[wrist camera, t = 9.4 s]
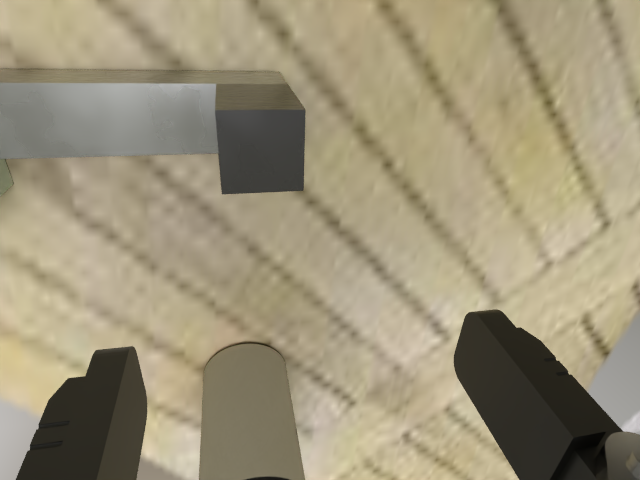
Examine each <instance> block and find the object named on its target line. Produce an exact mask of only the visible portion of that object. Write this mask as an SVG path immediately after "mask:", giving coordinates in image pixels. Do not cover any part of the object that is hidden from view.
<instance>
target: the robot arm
mask: <svg viewBox="0 0 640 480" xmlns="http://www.w3.org/2000/svg"><path fill="white" fill-rule="evenodd" d="M454 367H455V372H456V375H457V377H458V379H459V381H460V383H461V384H462V386H463V387H464V389H465V391H466V392H467V394H468V396H469V397H470V399H471V401H472V402H473V404H474V406H475V407H476V409H477V411H478V412H479V414H480V415H481V417H482V419H483V420H484V422H485V424H486V425H487V427H488V429H489V430H490V432H491V434H492V435H493V437H494V439H495V440H496V442H497V443H498V445H499V447H500V448H501V450H502V452H503V453H504V455H505V457H506V458H507V460H508V462H509V463H510V465H511V466H512V468H513V470H514V471H515V473H516V475H517V476H518V478H519V480H640V435H639V434H636V433H631V432H623V431H622V430H621V429H620V428H619V427H618V426H617V425H616V423H615V422H614V421H613V420H612V419H611V418H610V417H609V416H608V415H607V413H606V412H605V411H604V410H603V409H602V408H601V407H600V406H599V405H598V404H597V403H596V401H595V400H594V399H593V398H592V397H591V396H590V395H589V394H588V393H587V391H586V390H585V389H584V388H583V387H582V386H581V385H580V384H579V383H578V381H577V380H576V379H575V378H574V377H573V376H572V375H569V374H568V370H567V369H566V368H565V367H564V366H563V365H562V364H561V363H560V362H559V361H556V357H555V356H554V355H553V354H552V353H551V352H550V351H549V349H548V348H547V347H546V346H545V345H544V344H543V343H542V342H541V341H540V340H539V339H537V338H536V337H534V336H533V335H531V334H530V333H528V332H527V331H525V330H524V329H522V328H521V327H520V328H516V327H515V326H514V324H513V323H512V322H511V321H510V320H509V319H508V318H507V316H506V315H505V314H504V313H503V312H502V311H500V310H486V311H477V312H469V313H468V314H467V315H466V316H465V319H464V322H463V326H462V329H461V333H460V336H459V340H458V343H457V347H456V350H455V354H454ZM146 419H147V396H146V390H145V386H144V382H143V378H142V374H141V369H140V365H139V361H138V357H137V353H136V350H135V348H134V347H133V346H131V347H122V348H112V349H103V350H96V351H95V352H94V354H93V356H92V359H91V362H90V365H89V367H88V370H87V373H86V376H84V377H76V378H68V379H67V380H66V381H65V383H64V384H63V385H62V386H61V387H60V388H59V389H58V390H57V391H56V393H55V394H54V395H53V396H52V397H51V398H50V399H49V401H48V403H47V406H46V408H45V410H44V413H43V415H42V418H41V420H40V423H39V429H38V430H36V433H35V434H34V437H33V439H32V442H31V444H30V450H29V451H28V452H27V454H26V457H25V459H24V461H23V463H22V466H21V469H20V471H19V473H18V476H17V478H16V480H136V478H137V472H138V466H139V461H140V455H141V449H142V443H143V437H144V431H145V425H146Z"/></svg>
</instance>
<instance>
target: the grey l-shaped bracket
mask: <svg viewBox="0 0 640 480" xmlns="http://www.w3.org/2000/svg"><path fill="white" fill-rule="evenodd" d="M304 145H305V108H304V107H303V106H302V104H301V103H300V101H299V100H298V98H297V97H296V95H295V94H294V92H293V91H292V90H291V88H290V87H289V85H288V84H287V82H286V81H285V79H284V78H283V77H282V75H281V74H280V72H256V71H155V70H55V69H0V159H21V158H59V157H97V156H135V155H173V154H211V153H219V165H220V177H221V189H222V194H239V193H261V192H284V191H303V189H304Z"/></svg>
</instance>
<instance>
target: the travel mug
mask: <svg viewBox="0 0 640 480" xmlns="http://www.w3.org/2000/svg"><path fill="white" fill-rule="evenodd" d="M199 480H305V476H304V470H303V464H302V459H301V453H300V447H299V441H298V435H297V429H296V424H295V418H294V412H293V406H292V400H291V394H290V389H289V383H288V377H287V371H286V365H285V362H284V360H283V358H282V356H281V355H280V354H279V353H278V352H276V351H275V350H273V349H272V348H270V347H267V346H264V345H259V344H240V345H235V346H232V347H229V348H227V349H224V350H222V351H221V352H219V353H218V354H216V355H215V356H214V357H213V358H212V359H211V360H210V361H209V362H208V364H207V365H206V368H205V370H204V377H203V400H202V423H201V446H200V468H199Z"/></svg>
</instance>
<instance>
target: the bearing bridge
mask: <svg viewBox="0 0 640 480" xmlns="http://www.w3.org/2000/svg"><path fill="white" fill-rule="evenodd" d="M12 185H13V181H12V178H11V175H10V172H9V169H8V167H7V164H6V161H5V159H0V196H1V195H2V194H3V193H4V192H5V191H7V190H8V189H9V188H10V187H11V186H12Z"/></svg>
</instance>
